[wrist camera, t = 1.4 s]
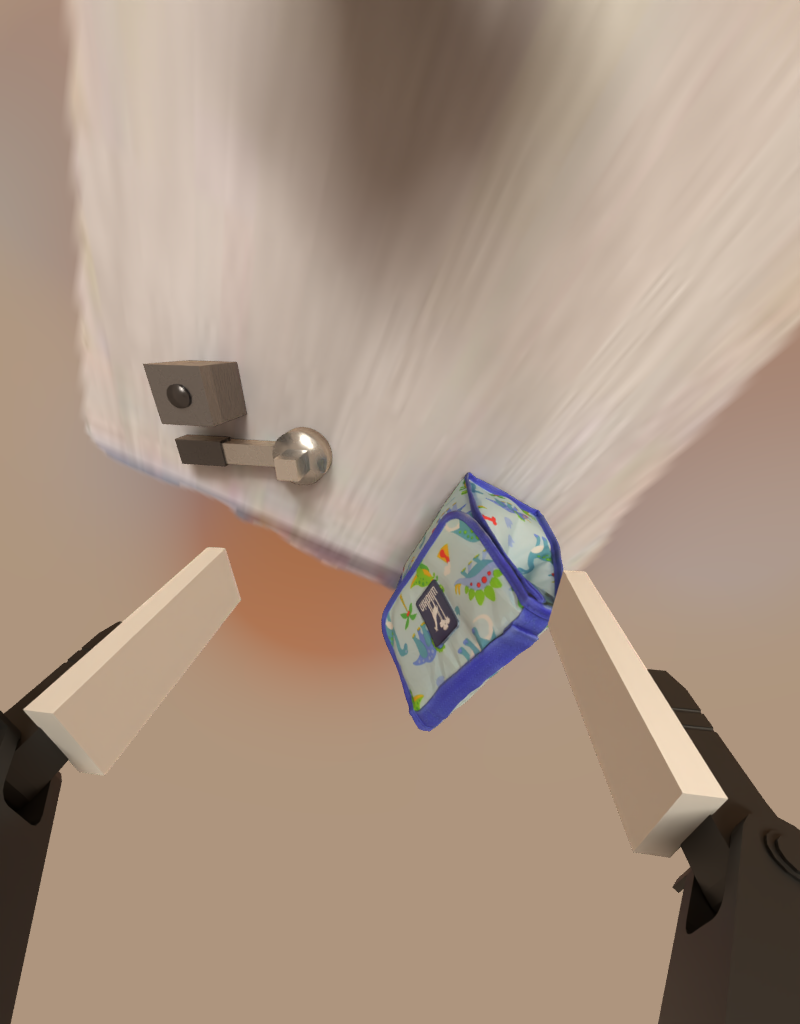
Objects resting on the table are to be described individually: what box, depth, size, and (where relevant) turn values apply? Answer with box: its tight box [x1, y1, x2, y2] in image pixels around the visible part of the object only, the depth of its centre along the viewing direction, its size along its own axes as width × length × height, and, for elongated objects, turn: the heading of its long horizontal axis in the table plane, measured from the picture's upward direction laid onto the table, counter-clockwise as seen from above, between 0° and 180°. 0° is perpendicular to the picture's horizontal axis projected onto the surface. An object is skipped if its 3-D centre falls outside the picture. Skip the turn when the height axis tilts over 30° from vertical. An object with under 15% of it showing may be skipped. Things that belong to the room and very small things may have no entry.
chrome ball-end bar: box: [175, 427, 332, 485], centre depth 47 cm, size 8×23×8 cm, turn 88°
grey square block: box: [143, 360, 247, 427], centre depth 43 cm, size 7×7×8 cm
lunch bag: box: [382, 472, 563, 731], centre depth 42 cm, size 22×17×26 cm
